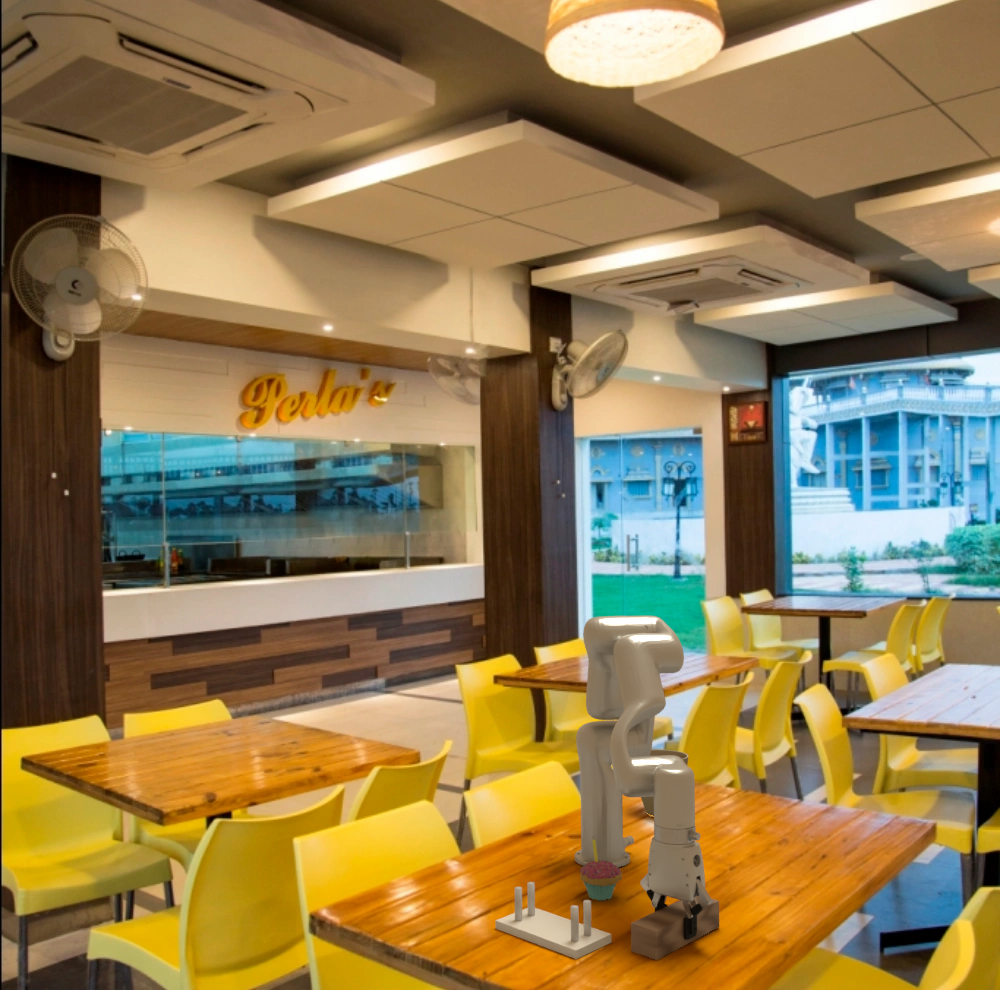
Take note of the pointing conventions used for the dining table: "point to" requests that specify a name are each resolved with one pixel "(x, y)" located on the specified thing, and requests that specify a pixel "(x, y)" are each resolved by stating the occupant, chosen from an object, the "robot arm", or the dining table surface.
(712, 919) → the wooden block
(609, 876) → the cupcake
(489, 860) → the dining table surface
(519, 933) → the peg stand
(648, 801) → the plant pot
